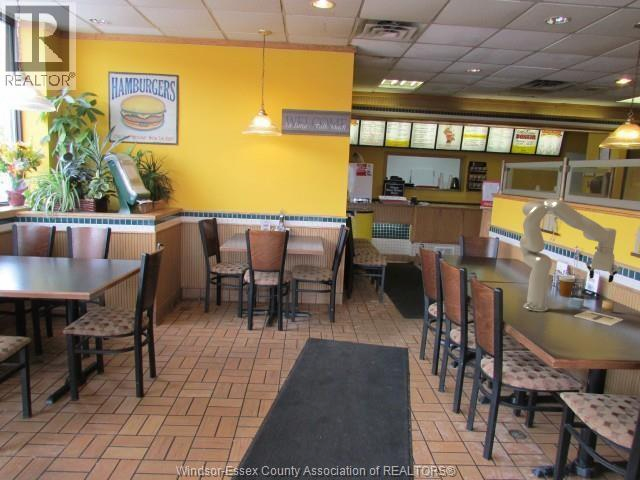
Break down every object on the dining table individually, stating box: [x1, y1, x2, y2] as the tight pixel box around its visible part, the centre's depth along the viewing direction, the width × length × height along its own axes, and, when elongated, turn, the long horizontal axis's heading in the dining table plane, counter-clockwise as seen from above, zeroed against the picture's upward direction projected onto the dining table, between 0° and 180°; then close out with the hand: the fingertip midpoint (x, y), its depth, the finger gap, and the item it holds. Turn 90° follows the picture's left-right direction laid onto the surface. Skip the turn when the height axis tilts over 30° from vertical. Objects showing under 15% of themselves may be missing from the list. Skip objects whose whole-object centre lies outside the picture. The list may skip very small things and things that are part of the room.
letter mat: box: [573, 310, 624, 326], centre depth 241 cm, size 18×18×1 cm
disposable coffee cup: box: [558, 275, 576, 298], centre depth 286 cm, size 10×10×12 cm
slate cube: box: [569, 297, 585, 309], centre depth 260 cm, size 5×5×5 cm
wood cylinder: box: [601, 299, 615, 314], centre depth 253 cm, size 6×6×6 cm
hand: (600, 280), depth 253 cm, fingers open, 9 cm apart
